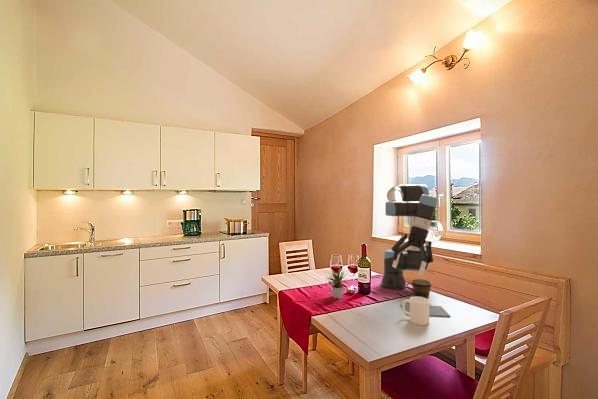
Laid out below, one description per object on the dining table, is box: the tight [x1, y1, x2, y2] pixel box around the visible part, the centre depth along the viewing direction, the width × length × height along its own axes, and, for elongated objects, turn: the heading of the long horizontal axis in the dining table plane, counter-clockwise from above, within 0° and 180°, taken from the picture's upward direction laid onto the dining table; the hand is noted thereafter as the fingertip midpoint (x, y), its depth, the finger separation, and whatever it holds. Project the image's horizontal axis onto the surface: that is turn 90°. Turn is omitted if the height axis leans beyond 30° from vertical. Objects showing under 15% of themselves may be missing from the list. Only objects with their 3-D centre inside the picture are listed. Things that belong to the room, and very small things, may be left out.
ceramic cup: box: [406, 278, 432, 300], centre depth 157 cm, size 13×10×10 cm
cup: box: [401, 295, 430, 326], centre depth 131 cm, size 8×12×10 cm
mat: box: [400, 303, 451, 318], centre depth 141 cm, size 20×12×1 cm, turn 83°
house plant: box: [324, 267, 348, 299], centre depth 162 cm, size 14×14×16 cm
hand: (407, 271), depth 132 cm, fingers open, 13 cm apart
